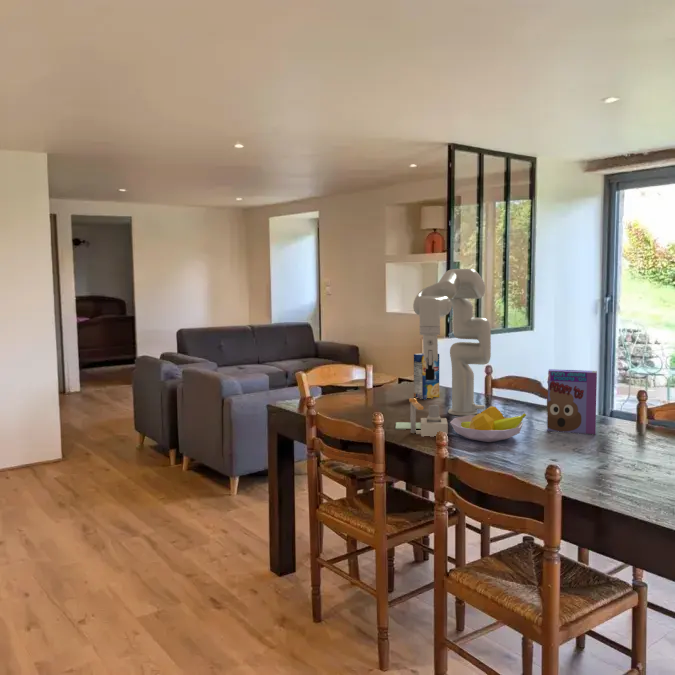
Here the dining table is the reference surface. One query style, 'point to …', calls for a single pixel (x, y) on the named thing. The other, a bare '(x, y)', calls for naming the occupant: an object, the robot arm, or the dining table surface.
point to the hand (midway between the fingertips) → (429, 379)
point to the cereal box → (572, 401)
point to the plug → (433, 413)
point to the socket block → (427, 425)
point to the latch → (416, 403)
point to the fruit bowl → (488, 425)
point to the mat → (406, 425)
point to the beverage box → (422, 385)
